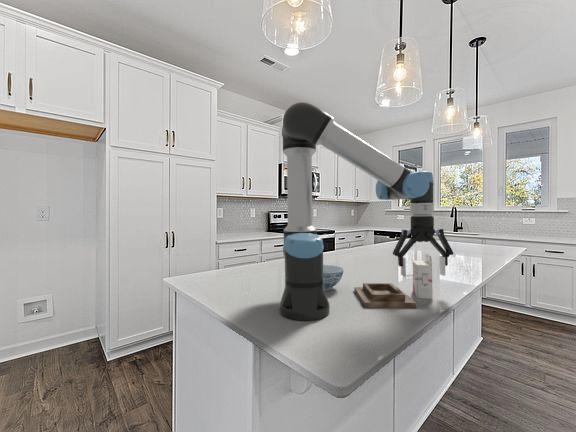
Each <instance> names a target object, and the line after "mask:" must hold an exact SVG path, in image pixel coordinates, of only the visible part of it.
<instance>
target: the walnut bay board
mask: <svg viewBox="0 0 576 432" xmlns="http://www.w3.org/2000/svg"><path fill="white" fill-rule="evenodd" d="M353 290H354V293H355V295H357V297H358V299H359V301H360V302H361V304H362V305H363V307H364V308H409V309H410V308H412V309H413V308H417V302H416V301H415V300H414V299H413V298H412V297H410V296H409V295H408V294H407V293H405V292H404V291H402V289H400V287H398V286H395V285H394V284H393V283H392V282H363V283H362V286H359V287H358V286H354V289H353Z"/></svg>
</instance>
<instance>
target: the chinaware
mask: <svg viewBox="0 0 576 432" xmlns="http://www.w3.org/2000/svg"><path fill="white" fill-rule="evenodd" d="M344 272H345V271H344V268H343V267H341V266H338V265H330V264H329V265H328V264H327V265H326V264H323V286H324V290H325V292H327V291H332V290H333V289H334V287H336V285H337V284H339V282H340V281H341V280H342V277H343V274H344Z"/></svg>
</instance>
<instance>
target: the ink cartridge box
mask: <svg viewBox="0 0 576 432" xmlns="http://www.w3.org/2000/svg"><path fill="white" fill-rule="evenodd" d="M424 255H425V260H412V292H413V293H414V295H415V296H416V298H417V299H425V300H426V299H427V300H433V297H434V295H433V260H432V255H429V254H428V253H426V252H425V253H424Z"/></svg>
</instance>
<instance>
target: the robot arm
mask: <svg viewBox="0 0 576 432" xmlns="http://www.w3.org/2000/svg"><path fill="white" fill-rule="evenodd" d="M334 119H335V118H334V117H333V116H332V115H330V114H329V113H327V112H326V111H324V110H323V109H321V108H319V107H317V106H315V105H313V104H311V103H309V102H303V101H302V102H300V101H299V102H295V103H293V104H291V105H290V106H289V107H288V108H287V109H286V111H285V113H284V114H283V117H282V128H281V137H282V153H283V155H285V156H286V160H287V161H286V163H287V164H286V165H287V166H286V167H287V169H286V170H287V171H286V173H287V174H286V175H287V176H286V177H287V178H286V180H287V185H286V186H287V187H286V188H287V189H286V190H287V226H285V228H284V229H283V247H282V254H283V256H284V290H283V293H282V295H281V296H282V297H281V299H280V302H279V313H281V314H280V315H281V316H283V317H284V316H285V317H284V318H287V319H289V320H290V319H291V320H295V321H314V320H320V319H323V318H326V317H327V316H328V315H329V314H330V303H329V299H328V296H327V293H326V291H325V290H324V286H323V265H324V247H325V246H324V241H323V238H322V237H321V236H320V235H319V234H317V232H318V231H317V228H316V227H315V226H314V225H313V177H312V176H313V169H312V167H313V163H312V162H313V161H312V160H313V159H312V157H313V155H315V153H316V152H317V146H319V145H321V146H322V147H324V148H326V149H327V150H328V151H331V152H332V153H334V154H335V155H337V156H338V157H340V158H342V159H343V160H345V161H346V162H348V163H349V164H351V165H353V166H354V167H356V168H358V169H359V170H361V171H363V172H364V173H365V174H367V175H369V176H370V177H372V178H374V179H375V180H376V183H375V196H376V198H377V199H378V200H382V201H383V200H385V201H388V200H393V201H395V200H409V205H410V207H409V208H410V210H409V211H410V212H409V213H410V215H411V216H410V219H409V220H410V229H409V230H408V229H405V228H404V229H401V232H400V236H399V239H398V240H397V243H396V245H395V247H394V249H393V251H392V256H395V257H397V264H398V266H399V267H400V275H401V276H403V277H406V276H407V269H406V267H407V265H406V264H407V263H406V262H407V261H406V260H407V259H406V257H404V256H405V255H406V254H407V253H408V252H409V251H410V249H411V248H412V246H414V245H415V244H416V243H417V242H418V243H423V242H426V243H428V242H429V243H430V244H431V245H432V246H433V247H434V248H435V250H437V252H438V253H439V254H440V255H439V258H438V259H439V263H438V264H439V275H441V276H443V277H445V276H446V266H447V267H448V263H449V260H448V258H449V257H450V256H452V255H454V251H453V249H452V248H451V247H452V246H451V245H450V243H449V242H448V240H447V237H446V236H445V231H444V229H442V228H436V229H435V228H434V227H435V218H434V216H433V215H434V212H435V211H434V185H435V184H434V176H433V172H431V171H429V170H423V171H411V170H409V169H408V168H407V167H405V166H403V165H401V164H400V163H398V162H397V161H396V160H394V159H392V158H390V157H389V156H388V155H386V154H384V153H383V152H381V151H380V150H378V149H377V148H375V147H374V146H373V145H371V144H369V143H367V142H366V141H364V140H362V139H361V138H360V137H358V136H356V135H355V134H354V133H352V132H350V131H349V130H347V129H346V128H344V127H343V126H341V125H339V124H338V123H337V122H335V120H334ZM435 234H436V236H437V237H438V239H439V241H440V243H441V245H442V246H443V247H442V246H441V245H440V244H439V243H438V241H437V240H436V239H435V237H434V235H435ZM409 235H411V237H410V238H409V240H408V241H407V243H405V242H406V240H407V237H408V236H409ZM404 244H405V245H404Z"/></svg>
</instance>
